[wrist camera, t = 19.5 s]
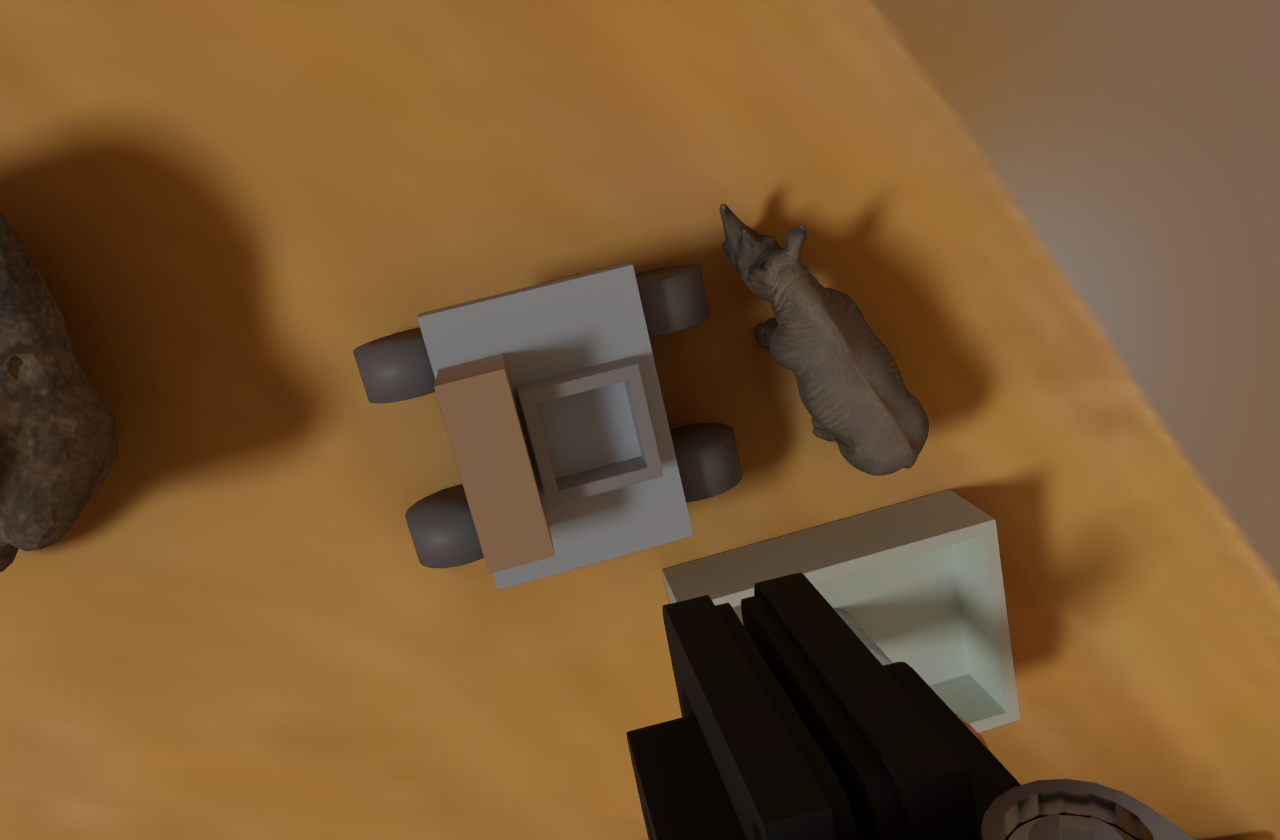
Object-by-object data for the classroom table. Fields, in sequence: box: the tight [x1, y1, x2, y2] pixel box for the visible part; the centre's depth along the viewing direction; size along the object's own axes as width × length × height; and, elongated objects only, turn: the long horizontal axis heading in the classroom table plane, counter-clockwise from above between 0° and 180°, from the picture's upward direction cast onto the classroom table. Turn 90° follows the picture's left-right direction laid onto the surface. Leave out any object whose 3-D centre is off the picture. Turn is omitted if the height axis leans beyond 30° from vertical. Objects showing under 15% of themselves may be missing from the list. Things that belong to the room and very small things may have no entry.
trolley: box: [353, 263, 742, 590], centre depth 36 cm, size 11×14×8 cm
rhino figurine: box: [720, 204, 929, 476], centre depth 38 cm, size 4×14×6 cm, turn 35°
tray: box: [662, 489, 1020, 733], centre depth 43 cm, size 10×14×4 cm
